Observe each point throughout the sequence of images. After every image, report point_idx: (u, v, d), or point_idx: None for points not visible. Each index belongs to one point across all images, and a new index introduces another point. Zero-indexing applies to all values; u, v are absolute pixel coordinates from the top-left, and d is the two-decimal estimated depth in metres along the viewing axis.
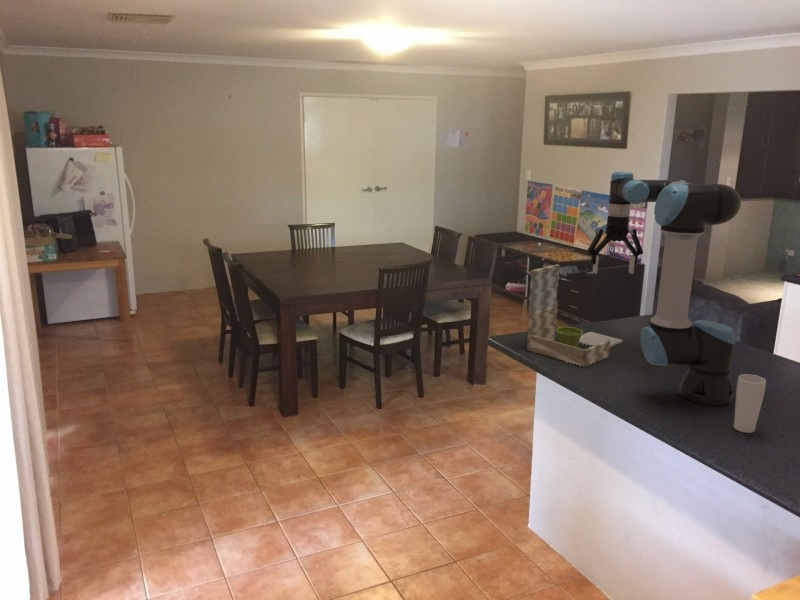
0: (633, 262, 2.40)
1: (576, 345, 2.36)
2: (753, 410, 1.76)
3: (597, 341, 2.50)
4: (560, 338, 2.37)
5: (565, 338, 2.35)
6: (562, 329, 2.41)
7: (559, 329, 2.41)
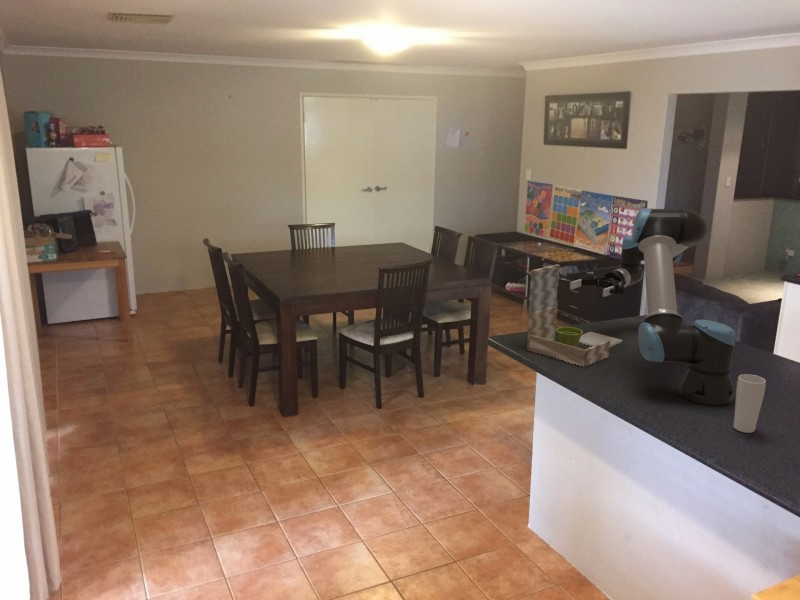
0: (610, 287, 2.38)
1: (576, 345, 2.36)
2: (753, 410, 1.76)
3: (597, 341, 2.50)
4: (560, 338, 2.37)
5: (565, 338, 2.35)
6: (562, 329, 2.41)
7: (559, 329, 2.41)
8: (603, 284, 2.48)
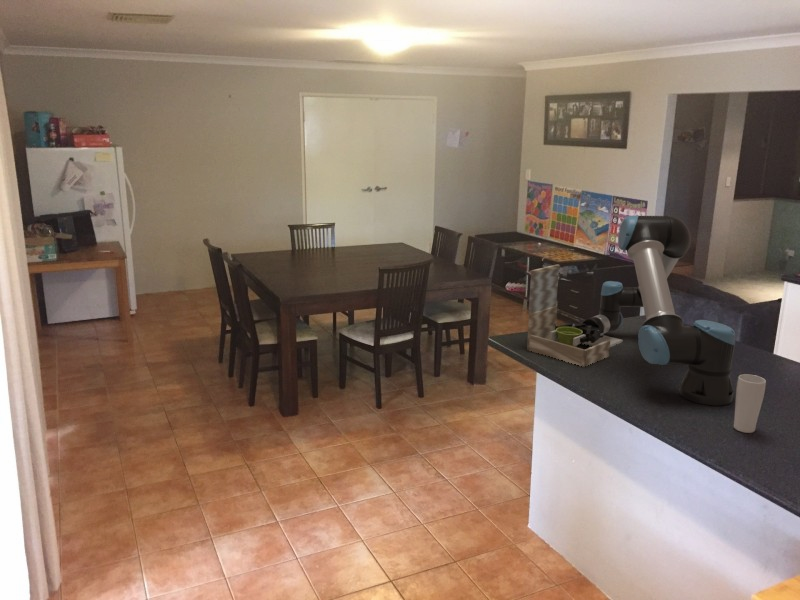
0: (580, 335, 2.34)
1: (576, 345, 2.36)
2: (753, 410, 1.76)
3: (597, 341, 2.50)
4: (560, 338, 2.37)
5: (565, 338, 2.35)
6: (562, 329, 2.41)
7: (559, 329, 2.41)
8: None
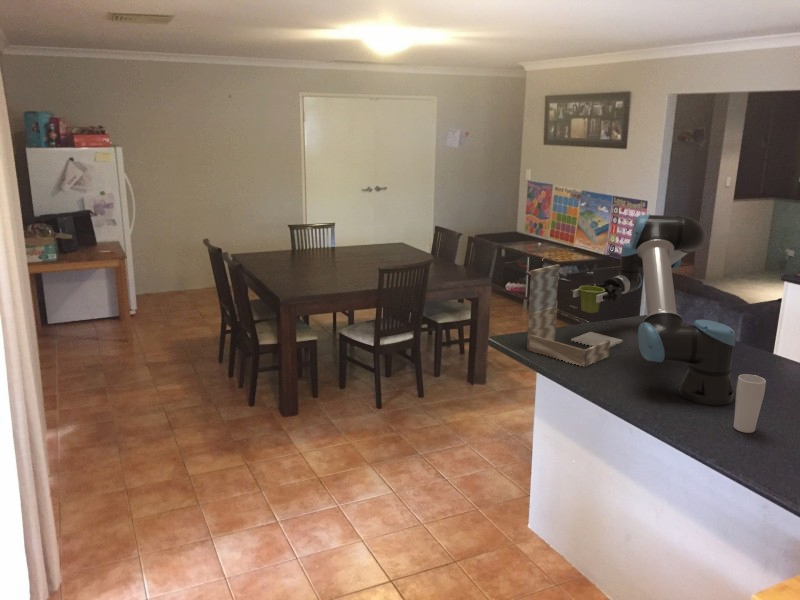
0: (603, 293, 2.41)
1: None
2: (753, 410, 1.76)
3: (597, 341, 2.50)
4: (583, 296, 2.44)
5: (588, 296, 2.42)
6: (584, 288, 2.48)
7: (581, 288, 2.48)
8: None
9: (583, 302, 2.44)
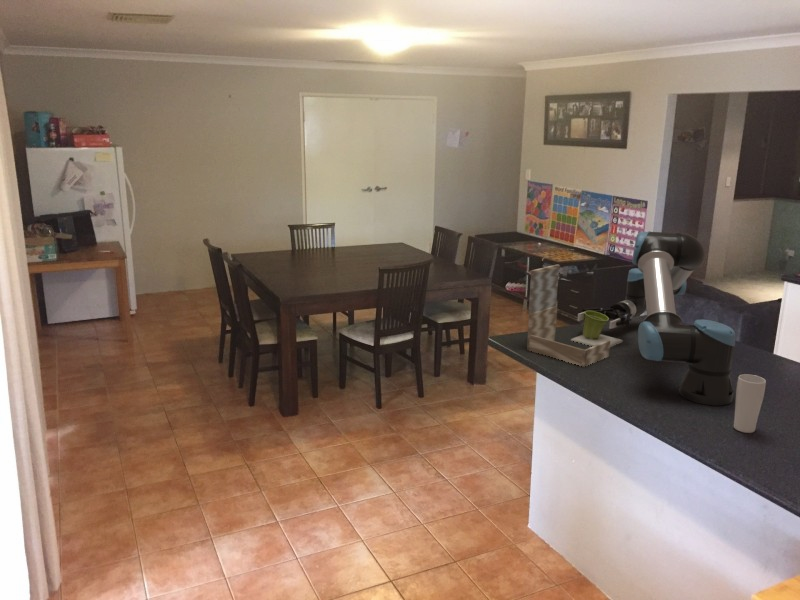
0: (616, 319, 2.46)
1: (600, 330, 2.52)
2: (753, 410, 1.76)
3: (597, 341, 2.50)
4: (587, 321, 2.52)
5: (592, 322, 2.50)
6: (589, 313, 2.56)
7: (587, 312, 2.55)
8: (609, 316, 2.57)
9: (586, 327, 2.52)
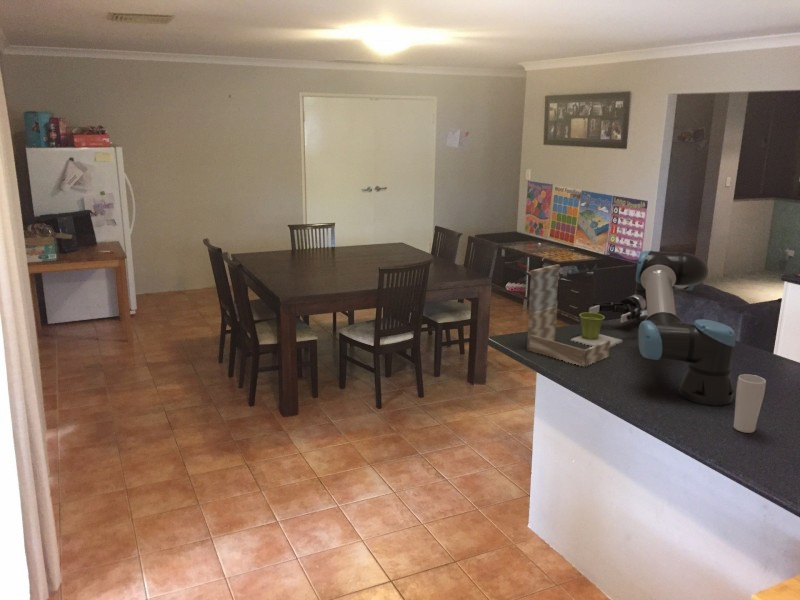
0: (627, 313, 2.53)
1: (598, 329, 2.52)
2: (753, 410, 1.76)
3: (597, 341, 2.50)
4: (583, 322, 2.53)
5: (587, 323, 2.51)
6: (585, 314, 2.57)
7: (582, 314, 2.57)
8: (620, 310, 2.63)
9: (583, 329, 2.53)
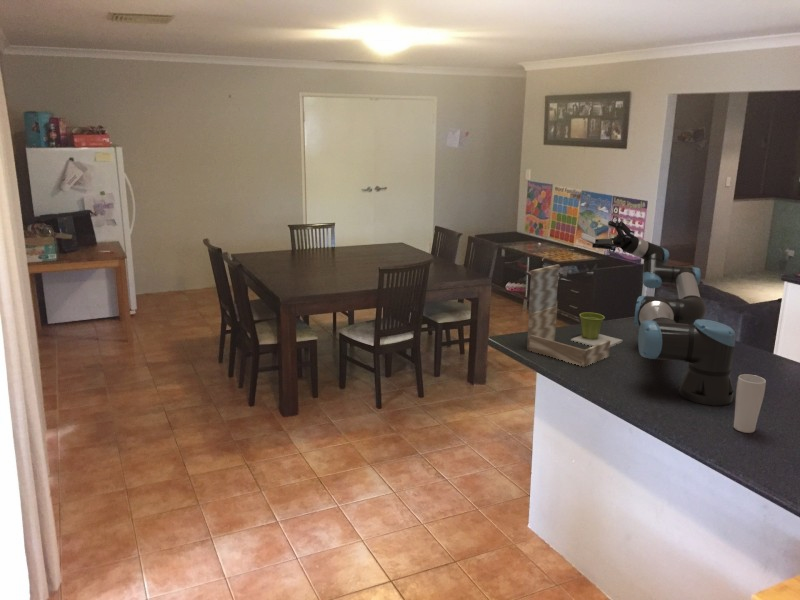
0: (590, 241, 2.80)
1: (598, 329, 2.52)
2: (753, 410, 1.76)
3: (597, 341, 2.50)
4: (583, 322, 2.53)
5: (588, 323, 2.51)
6: (585, 314, 2.57)
7: (582, 314, 2.57)
8: (616, 237, 2.77)
9: (583, 328, 2.53)
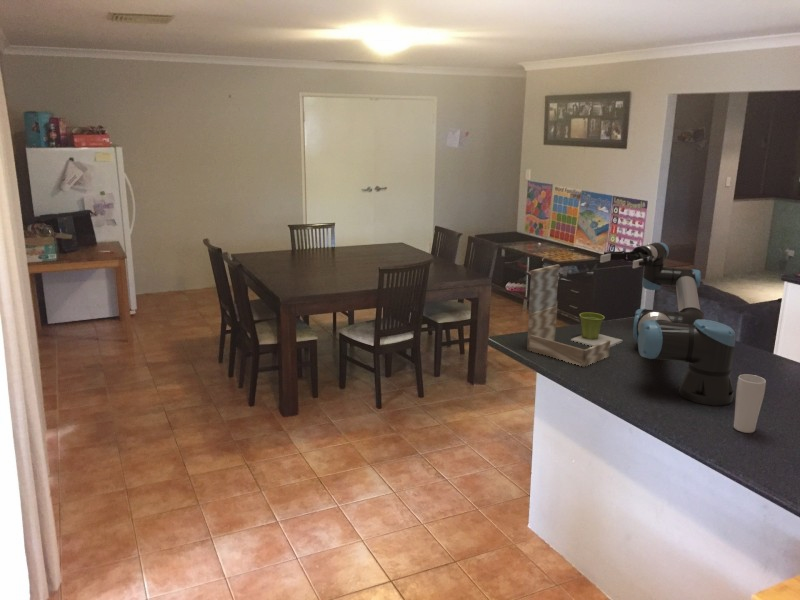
0: None
1: (598, 329, 2.52)
2: (753, 410, 1.76)
3: (597, 341, 2.50)
4: (583, 322, 2.53)
5: (588, 323, 2.51)
6: (585, 314, 2.57)
7: (582, 314, 2.57)
8: (633, 257, 2.59)
9: (583, 329, 2.53)
